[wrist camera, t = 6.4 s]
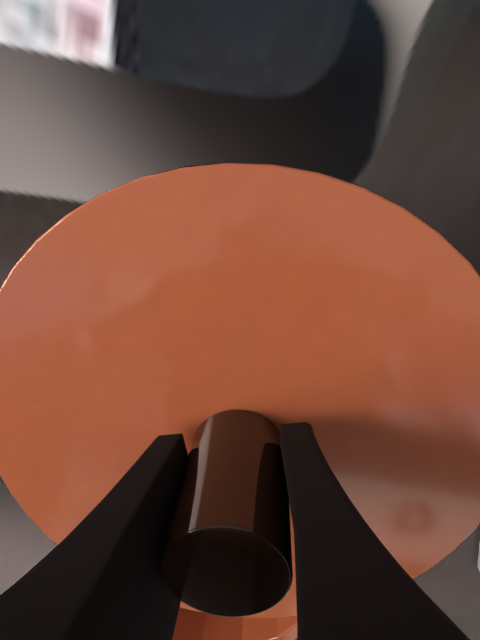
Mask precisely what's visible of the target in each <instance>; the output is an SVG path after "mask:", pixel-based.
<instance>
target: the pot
mask: <svg viewBox="0 0 480 640" xmlns="http://www.w3.org/2000/svg"><path fill="white" fill-rule="evenodd" d="M296 638H298V637H297V616H290V617H277V618H245V617H224V616H217V615H212V614H208V613H204V612H198V611H193V610H188V609H185V608H181V607H179V612H178V616H177V621H176V625H175V629H174V634H173V638H172V640H295V639H296Z"/></svg>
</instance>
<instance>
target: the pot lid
mask: <svg viewBox="0 0 480 640" xmlns="http://www.w3.org/2000/svg"><path fill="white" fill-rule="evenodd" d="M299 422H307V423H309V424H310V425H312V429H313V432H314V435H315V438H316V440H317V443H318V445H319V447H320V449H321V451H322V453H323V455H324V457H325V459H326V461H327V463H328V464H329V466H330V468H331V470H332V471H333V473H334V475H335V476H336V478H337V480H338V481H339V483H340V484H341V486H342V488H343V489H344V491H345V492H346V494H347V495H348V497H349V498H350V500H351V502H352V503H353V504H354V506H355V507H356V509H357V510H358V512H359V513H360V514H361V516H362V517H363V519H364V520H365V521H366V523H367V524H368V525H369V527H370V528H371V529H372V531H373V532H374V533H375V535H376V536H377V537H378V539H379V540H380V541H381V542H382V544H383V545H384V546H385V547H386V549H387V550H388V551H389V552H390V553H391V555H392V556H393V557H394V558H395V559H396V561H397V562H398V563H399V564H400V565H401V567H402V568H403V569H404V570H405V571H406V572H407V573H408V575H409V576H410V577H411V578H412V579H414V578H416V577H418V576H419V575H421V574H422V573H424V572H426V571H427V570H429V569H431V568H432V567H434V566H435V565H436V564H437V563H439V562H440V561H441V560H442V559H444V558H445V557H446V556H448V555H449V554H450V553H451V552H453V551H454V550H455V549H456V548H457V547H458V546H459V545H460V544H461V543H462V542H463V541H464V540H465V539H466V538H467V537H468V536H469V535H470V534H471V533H472V532H473V531H474V530H475V529H476V528H477V526H478V525H479V524H480V275H479V274H478V272H477V271H476V270H475V268H474V267H473V266H472V264H471V263H470V262H469V260H468V259H466V258H465V257H464V256H463V255H462V254H461V253H460V252H459V251H458V250H457V249H456V248H455V247H454V246H453V245H452V244H451V243H450V242H449V241H448V240H447V239H446V238H445V237H444V236H442V235H441V234H440V233H439V232H438V231H437V230H435V229H434V228H432V227H431V226H430V225H428V224H427V223H425V222H424V221H422V220H421V219H420V218H418V217H417V216H415V215H414V214H412V213H411V212H410V211H408V210H407V209H405V208H404V207H402V206H400V205H398V204H396V203H394V202H392V201H390V200H388V199H386V198H384V197H382V196H380V195H378V194H376V193H374V192H372V191H370V190H368V189H366V188H364V187H362V186H360V185H357V184H354V183H351V182H348V181H345V180H342V179H339V178H336V177H332V176H329V175H326V174H323V173H320V172H318V171H312V170H307V169H301V168H296V167H290V166H284V165H279V164H272V163H246V162H245V163H244V162H223V163H213V164H204V165H194V166H185V167H181V168H177V169H173V170H169V171H165V172H161V173H157V174H153V175H149V176H145V177H141V178H138V179H136V180H133V181H131V182H129V183H126V184H124V185H121V186H119V187H116V188H114V189H112V190H110V191H107V192H104V193H102V194H100V195H98V196H96V197H95V198H93V199H91V200H90V201H88V202H86V203H85V204H83V205H81V206H80V207H78V208H76V209H75V210H73V211H71V212H70V213H68V214H66V215H65V216H64V217H63V218H61V219H60V220H59V221H58V222H57V223H55V224H54V225H53V226H52V227H51V228H49V229H48V230H47V231H46V232H45V233H44V234H42V235H41V236H40V237H39V238H38V239H36V241H35V242H34V243H33V244H32V245H31V246H30V248H29V249H28V250H27V251H26V252H25V253H24V255H23V256H22V257H21V258H20V259H19V260H18V262H17V263H16V264H15V265H14V266H13V268H12V269H11V271H10V273H9V274H8V276H7V278H6V279H5V281H4V283H3V284H2V286H1V288H0V476H1V477H2V479H3V481H4V482H5V484H6V486H7V488H8V489H9V491H10V493H11V494H12V495H13V497H14V498H15V500H16V501H17V502H18V504H19V505H20V506H21V508H22V509H23V510H24V512H25V513H26V514H27V515H28V516H29V518H30V519H31V520H32V521H33V522H34V523H35V524H36V525H37V526H38V527H39V528H40V529H41V530H42V531H43V532H44V533H45V535H47V536H48V537H49V538H50V539H51V540H52V541H53V542H55V543H56V544H57V545H58V544H59V543H60V542H62V541H63V540H64V539H65V538H66V537H67V536H68V535H69V534H70V533H71V532H72V531H73V530H74V529H75V527H76V526H77V525H78V524H79V523H80V522H81V521H82V520H83V519H84V518H85V517H86V516H87V515H88V514H89V513H90V512H91V511H92V510H93V509H94V508H95V507H96V506H97V505H98V504H99V503H100V502H101V501H102V499H103V498H104V497H105V496H106V495H107V494H108V493H109V492H110V491H111V489H112V488H113V487H114V486H115V485H116V484H117V483H118V482H119V480H120V479H121V478H122V477H123V476H124V475H125V474H126V472H127V471H128V470H129V469H130V468H131V467H132V466H133V464H134V463H135V462H136V461H137V460H138V459H139V457H140V456H141V455H142V454H143V453H144V451H145V450H146V449H147V448H148V447H149V446H150V445H151V443H152V442H153V441H154V440H155V439H156V438H157V437H158V436H159V435H170V434H180V433H182V434H183V437H184V441H185V445H186V449H187V453H188V458H187V462H186V466H185V470H184V474H183V478H182V481H181V485H180V489H179V493H178V497H177V501H176V504H175V508H174V512H173V516H172V520H171V524H170V527H169V531H168V535H167V539H166V543H165V547H164V550H163V554H162V558H161V573H162V577H163V579H164V582H165V584H166V585H167V587H168V589H169V590H170V591H171V592H172V593H173V594H174V595H175V596H176V597H177V598H178V599H179V600H181V603H180V607H181V608H185V609H188V610H193V611H198V612H204V613H208V614H212V615H217V616H224V617H245V618H277V617H290V616H297V601H296V571H295V545H294V529H293V522H292V516H291V510H290V503H289V497H288V490H287V484H286V478H285V472H284V465H283V459H282V452H281V446H280V429H281V424H289V423H299Z"/></svg>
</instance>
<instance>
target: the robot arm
mask: <svg viewBox="0 0 480 640" xmlns="http://www.w3.org/2000/svg"><path fill="white" fill-rule="evenodd" d="M280 446H281V452H282V459H283V465H284V472H285V478H286V484H287V490H288V497H289V503H290V510H291V516H292V522H293V529H294V545H295V571H296V601H297V637H298V640H470V639H469V638H468V637H467V636H466V635H465V634H464V633H463V632H462V631H461V630H460V629H459V628H458V627H457V626H456V625H455V624H454V623H453V622H452V621H451V620H450V619H449V617H448V616H447V615H446V614H445V613H444V612H443V611H442V610H441V609H440V608H439V607H438V606H437V605H436V604H435V603H434V602H433V601H432V600H431V599H430V598H429V597H428V596H427V595H426V594H425V593H424V591H423V590H422V589H421V588H420V587H419V586H418V585H417V584H416V583H415V581H414V580H413V579H412V578H411V577H410V576H409V575H408V573H407V572H406V571H405V570H404V569H403V568H402V567H401V565H400V564H399V563H398V562H397V561H396V559H395V558H394V557H393V556H392V555H391V553H390V552H389V551H388V550H387V549H386V547H385V546H384V545H383V544H382V542H381V541H380V540H379V539H378V537H377V536H376V535H375V533H374V532H373V531H372V529H371V528H370V527H369V525H368V524H367V523H366V521H365V520H364V519H363V517H362V516H361V514H360V513H359V512H358V510H357V509H356V507H355V506H354V504H353V503H352V502H351V500H350V498H349V497H348V495H347V494H346V492H345V491H344V489H343V488H342V486H341V484H340V483H339V481H338V480H337V478H336V476H335V475H334V473H333V471H332V470H331V468H330V466H329V464H328V463H327V461H326V459H325V457H324V455H323V453H322V451H321V449H320V447H319V445H318V443H317V440H316V438H315V435H314V432H313V429H312V425H310V424H309V423H307V422H299V423H289V424H281V429H280ZM187 458H188V453H187V449H186V445H185V441H184V437H183V434H182V433H180V434H170V435H159V436H158V437H157V438H156V439H155V440H154V441H153V442H152V443H151V445H150V446H149V447H148V448H147V449H146V450H145V451H144V453H143V454H142V455H141V456H140V457H139V459H138V460H137V461H136V462H135V463H134V464H133V466H132V467H131V468H130V469H129V470H128V471H127V472H126V474H125V475H124V476H123V477H122V478H121V479H120V480H119V482H118V483H117V484H116V485H115V486H114V487H113V488H112V489H111V491H110V492H109V493H108V494H107V495H106V496H105V497H104V498H103V499H102V501H101V502H100V503H99V504H98V505H97V506H96V507H95V508H94V509H93V510H92V511H91V512H90V513H89V514H88V515H87V516H86V517H85V518H84V519H83V520H82V521H81V522H80V523H79V524H78V525H77V526H76V527H75V529H74V530H73V531H72V532H71V533H70V534H69V535H68V536H67V537H66V538H65V539H64V540H63V541H62V542H60V543H59V544H58V545H57V546H56V547H55V548H54V549H53V550H52V551H51V552H50V553H49V554H48V555H47V556H46V557H44V558H43V559H42V560H41V561H40V562H39V563H38V564H37V565H35V566H34V567H33V568H32V569H31V570H30V571H29V572H28V573H27V574H25V575H24V576H23V577H22V578H21V579H20V580H18V581H17V582H16V583H15V584H14V585H13V586H11V587H10V588H9V589H8V590H6V591H5V592H4V593H3V594H1V595H0V640H172V638H173V634H174V629H175V625H176V621H177V616H178V612H179V607H180V603H181V600H179V599H178V598H177V597H176V596H175V595H174V594H173V593H172V592H171V591H170V590H169V589H168V587H167V585H166V584H165V582H164V579H163V577H162V573H161V558H162V554H163V550H164V547H165V543H166V539H167V535H168V531H169V527H170V524H171V520H172V516H173V512H174V508H175V504H176V501H177V497H178V493H179V489H180V485H181V481H182V478H183V474H184V470H185V466H186V462H187ZM477 566H478V569H479V571H480V543H479V554H478V565H477Z"/></svg>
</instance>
